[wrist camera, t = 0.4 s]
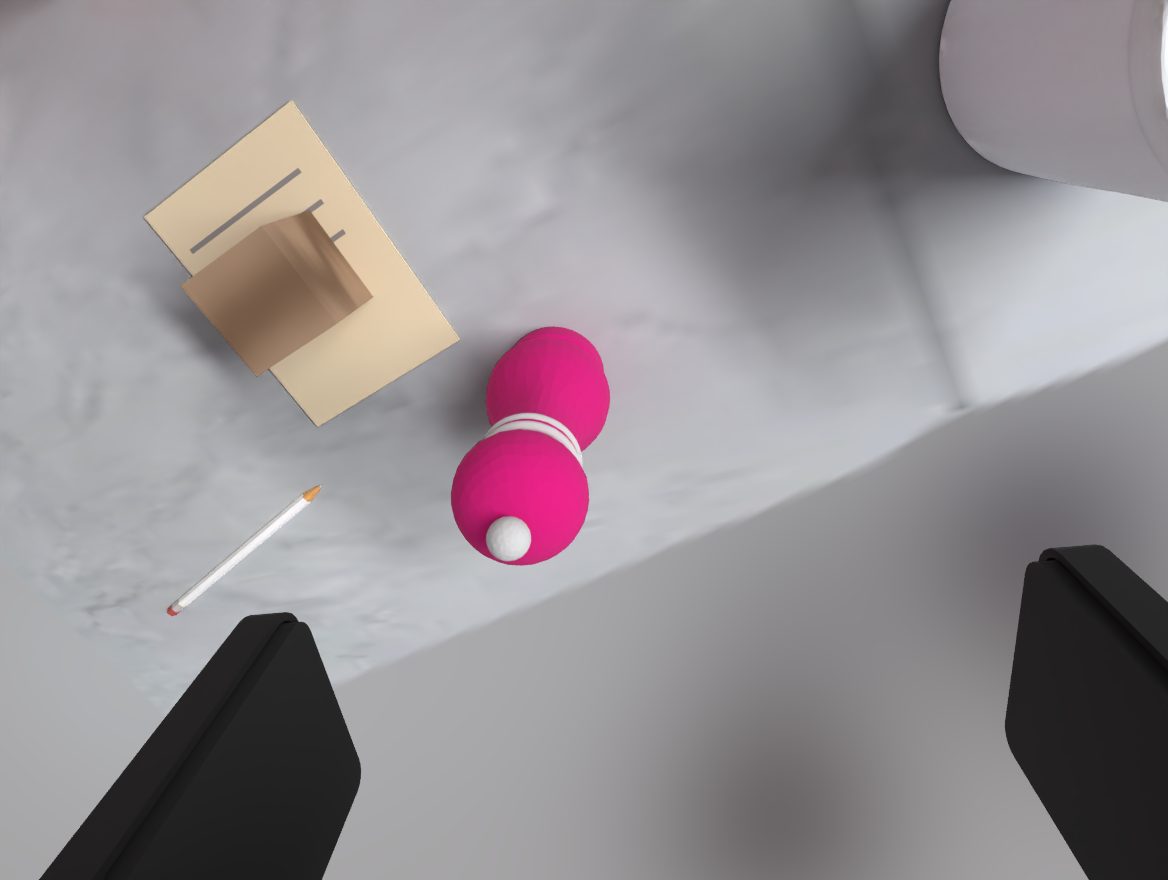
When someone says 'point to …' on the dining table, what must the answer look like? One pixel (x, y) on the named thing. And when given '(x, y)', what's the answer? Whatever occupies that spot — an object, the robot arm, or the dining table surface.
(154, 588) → the dining table surface
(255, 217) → the letter
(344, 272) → the block
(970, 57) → the utensil holder
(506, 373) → the pepper mill
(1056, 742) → the robot arm
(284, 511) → the pencil
